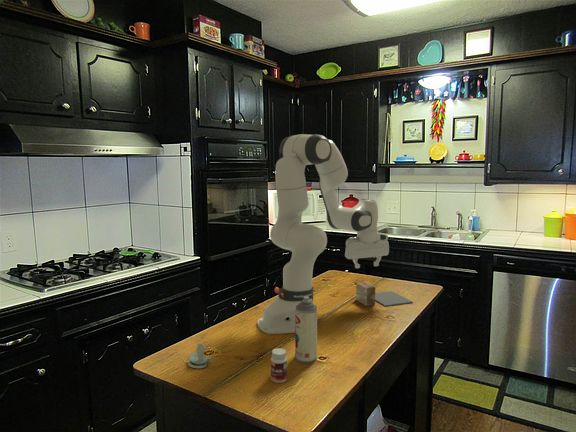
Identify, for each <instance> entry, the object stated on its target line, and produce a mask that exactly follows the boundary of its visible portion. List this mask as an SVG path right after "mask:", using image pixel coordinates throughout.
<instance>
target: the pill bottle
mask: <svg viewBox="0 0 576 432" xmlns="http://www.w3.org/2000/svg"><path fill="white" fill-rule="evenodd" d="M270 380H271V381H272V382H274V383H276V384H282V383H285V382H286V381H287V380H288V357H287V350H286V349H284V348H282V347H281V348H280V347H277V348H274V349H272V350H271V358H270Z"/></svg>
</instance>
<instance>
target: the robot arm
mask: <svg viewBox="0 0 576 432" xmlns="http://www.w3.org/2000/svg"><path fill="white" fill-rule="evenodd" d="M278 157H279V159H278V160H277V162H276V163H275V170H274V173H275V187H276V189H275V190H276V197H277V205H278V206H277V207H278V210H277V211H278V212H277V219H276V222H275V224H273V225H272V227H271V230H270V235H269V237H270V240H271V242H272V243H273V244H274V245H275V246H277V247H278V248H281V249H283V250H286V251H291V257H290V261H288V262H287V263H286V264H285V265H284V266H283V269H282V279H283V280H282V283H283V284H282V287H281V288H279V287H278V286H276V287H275V288H274V292H275V293H276V294H277V295H278V297H276V298H275V299H274V300H273V301H272V302H271V303H269V304H268V305H267V306H265V308H264V311H263V314H262V315H263V316H262V317H261V318H259V319H257V321H256V322H257V327H258V328H259V330H260V331H262V333H265V334H266V335H277V334H278V335H279V334H293V333H294V334H295V309H296V305H298V304H299V303H300V302H301V301H302V300H304V297H305V296H307V297H309V300H310V301H311V302H312V303H313V301H314V286H313V272H314V271H313V270H314V265H315V262H316V260H317V257H318V256H319V255H320V254H322V253H323V252H324V251H325V249H326V248H327V244H328V237H327V236H328V235H327V233H326V232H325V230H324V229H323V228H320V227H318V226H317V225H314V224H309V223H303V222H302V216H303V213H304V212H305V211H306V210H307V209H308V207H309V195H308V189H307V188H308V187H307V181H306V180H307V179H306V175H305V174H306V173H305V169H306V166H308V165H309V166H310V165H315V169H316V171H317V173H318V176H319V181H318V188H319V191H320V194H321V198H322V201H323V204H324V209H325V212H326V219H327V223H328V225H329V227H330V228H331V229H334V230H343V231H349V232H356V236H354V237H352V236H351V237H349V238H347V239H346V240H345V248H344V249H345V251H344V252H345V253H344V257H345V258H346V259H347V260H352V262H353V263H354V268H355V269H360V268H361V264H359V263H358V260H359V259H366V258H376V260H374V261H373V267H379V266H380V261H381V260H382V257H384V256H388V255H389V253H390V244H389V241H388V240H389V235H388V234H386V233H382V232H381V231H379V227H378V221H379V207H378V203H377V201H376V200H374V199H368V198H360V199H359V200H358V203H357V204H355V205H354V206H353V207H347V206H346V207H345V206H343V205H342V204H340V203H339V200H338V197H337V192H336V190H337V189H338V188H339V187H340V186H342V185H344V183H345V182H346V180H347V179H348V175H349V172H348V171H349V170H348V168H347V167H348V166H347V165H346V162H345V160H344V158H343V155H342V153H341V151H340V150H339V148H338V147H337V145H336V143H335V142H334V141H333V140H331V139H328V138H327V137H325V136H324V135H321V134H307V133H305V134H304V133H302V134H300V133H299V134H295V135H289V136H287V137H284V138H283V139H282V141H281V142H280V145H279V156H278Z"/></svg>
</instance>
